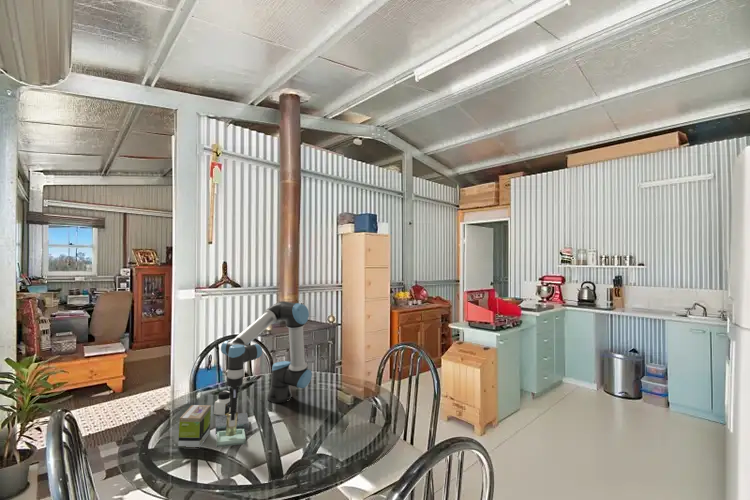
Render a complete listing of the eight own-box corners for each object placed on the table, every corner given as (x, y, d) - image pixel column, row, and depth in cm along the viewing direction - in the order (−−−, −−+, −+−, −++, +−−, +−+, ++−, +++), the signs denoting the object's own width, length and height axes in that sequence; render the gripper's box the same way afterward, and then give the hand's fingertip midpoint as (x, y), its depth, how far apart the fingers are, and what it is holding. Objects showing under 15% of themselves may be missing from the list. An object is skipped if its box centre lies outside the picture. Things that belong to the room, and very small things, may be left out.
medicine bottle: (224, 416, 213) (226, 395, 213) (213, 414, 214) (215, 393, 214) (232, 411, 220) (233, 390, 220) (221, 409, 221) (222, 388, 221)
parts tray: (243, 433, 195) (244, 428, 195) (245, 443, 185) (245, 438, 185) (216, 436, 190) (216, 431, 190) (216, 447, 180) (217, 442, 180)
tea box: (190, 432, 192) (192, 404, 192) (210, 433, 193) (212, 404, 193) (177, 448, 177) (179, 417, 177) (199, 449, 178) (201, 417, 178)
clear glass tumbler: (236, 430, 191) (237, 410, 191) (236, 435, 186) (238, 415, 186) (224, 431, 189) (226, 412, 189) (225, 437, 184) (226, 416, 184)
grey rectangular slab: (246, 419, 210) (247, 412, 210) (248, 430, 198) (248, 423, 198) (215, 423, 204) (216, 415, 204) (215, 434, 192) (216, 426, 192)
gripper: (226, 371, 195) (223, 416, 195) (227, 383, 178) (224, 432, 178) (241, 370, 198) (238, 414, 197) (244, 382, 181) (240, 430, 181)
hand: (231, 423), depth 188 cm, fingers closed on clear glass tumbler, 5 cm apart
